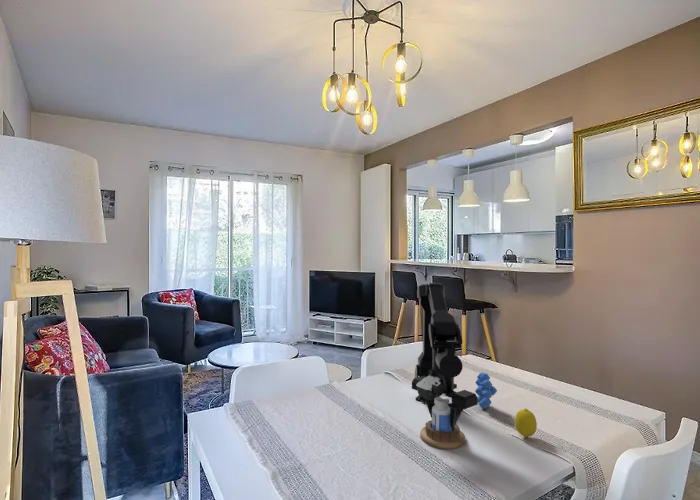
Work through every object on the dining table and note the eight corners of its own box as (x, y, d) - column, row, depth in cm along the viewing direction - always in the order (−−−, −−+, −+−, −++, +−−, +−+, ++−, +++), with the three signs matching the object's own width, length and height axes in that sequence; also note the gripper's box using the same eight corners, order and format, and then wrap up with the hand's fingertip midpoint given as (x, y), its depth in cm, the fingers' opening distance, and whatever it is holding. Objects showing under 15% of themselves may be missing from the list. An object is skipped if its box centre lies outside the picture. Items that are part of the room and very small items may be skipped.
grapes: (502, 416, 124) (503, 378, 124) (480, 416, 124) (481, 377, 124) (491, 402, 135) (492, 366, 135) (471, 401, 136) (471, 366, 136)
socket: (429, 424, 118) (430, 413, 118) (470, 435, 112) (470, 423, 112) (413, 441, 108) (413, 429, 108) (457, 453, 101) (457, 441, 101)
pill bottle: (455, 433, 110) (455, 398, 110) (447, 441, 106) (447, 404, 106) (436, 428, 113) (437, 393, 113) (428, 435, 109) (428, 399, 109)
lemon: (535, 434, 112) (535, 406, 112) (537, 444, 107) (537, 414, 107) (513, 431, 114) (514, 403, 114) (515, 440, 109) (515, 411, 109)
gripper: (398, 362, 112) (397, 417, 112) (451, 380, 97) (450, 444, 97) (425, 355, 119) (424, 408, 119) (479, 372, 104) (478, 432, 104)
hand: (442, 422), depth 110 cm, fingers open, 7 cm apart
